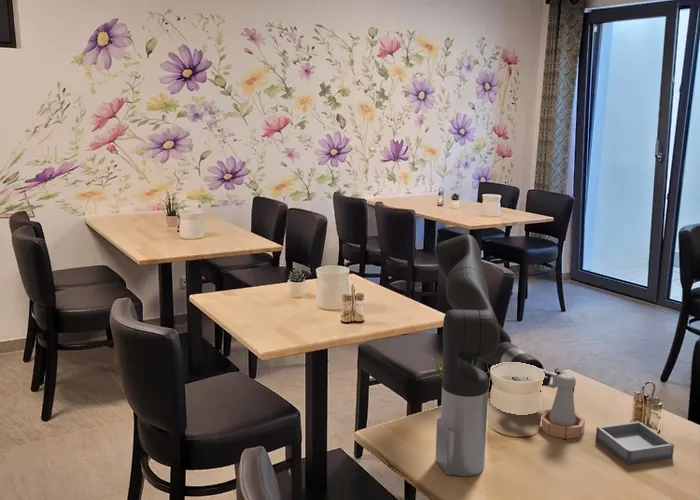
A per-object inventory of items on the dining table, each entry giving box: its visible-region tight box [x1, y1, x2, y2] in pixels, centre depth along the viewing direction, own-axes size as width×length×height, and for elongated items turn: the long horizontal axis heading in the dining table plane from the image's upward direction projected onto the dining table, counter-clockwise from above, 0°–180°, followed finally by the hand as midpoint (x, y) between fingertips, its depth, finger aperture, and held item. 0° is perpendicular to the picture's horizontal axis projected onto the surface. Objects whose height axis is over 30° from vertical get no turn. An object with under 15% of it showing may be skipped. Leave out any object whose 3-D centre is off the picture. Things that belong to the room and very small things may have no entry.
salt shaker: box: [549, 373, 577, 427], centre depth 155 cm, size 6×6×13 cm
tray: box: [595, 421, 675, 465], centre depth 147 cm, size 11×11×3 cm
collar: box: [540, 409, 586, 440], centre depth 156 cm, size 9×9×2 cm
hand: (556, 392), depth 158 cm, fingers open, 8 cm apart
